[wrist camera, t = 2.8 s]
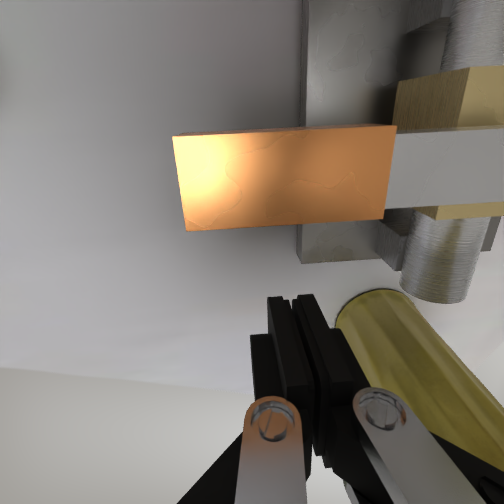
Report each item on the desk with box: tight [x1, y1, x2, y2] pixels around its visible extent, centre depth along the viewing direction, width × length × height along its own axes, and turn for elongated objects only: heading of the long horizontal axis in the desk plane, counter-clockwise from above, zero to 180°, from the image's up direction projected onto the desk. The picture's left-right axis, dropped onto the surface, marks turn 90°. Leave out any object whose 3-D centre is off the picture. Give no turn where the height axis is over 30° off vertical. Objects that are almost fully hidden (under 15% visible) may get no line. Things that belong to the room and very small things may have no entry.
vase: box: [336, 290, 504, 472], centre depth 16 cm, size 6×6×14 cm
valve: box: [297, 0, 504, 304], centre depth 13 cm, size 14×12×9 cm
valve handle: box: [172, 124, 504, 231], centre depth 8 cm, size 12×2×2 cm, turn 93°
